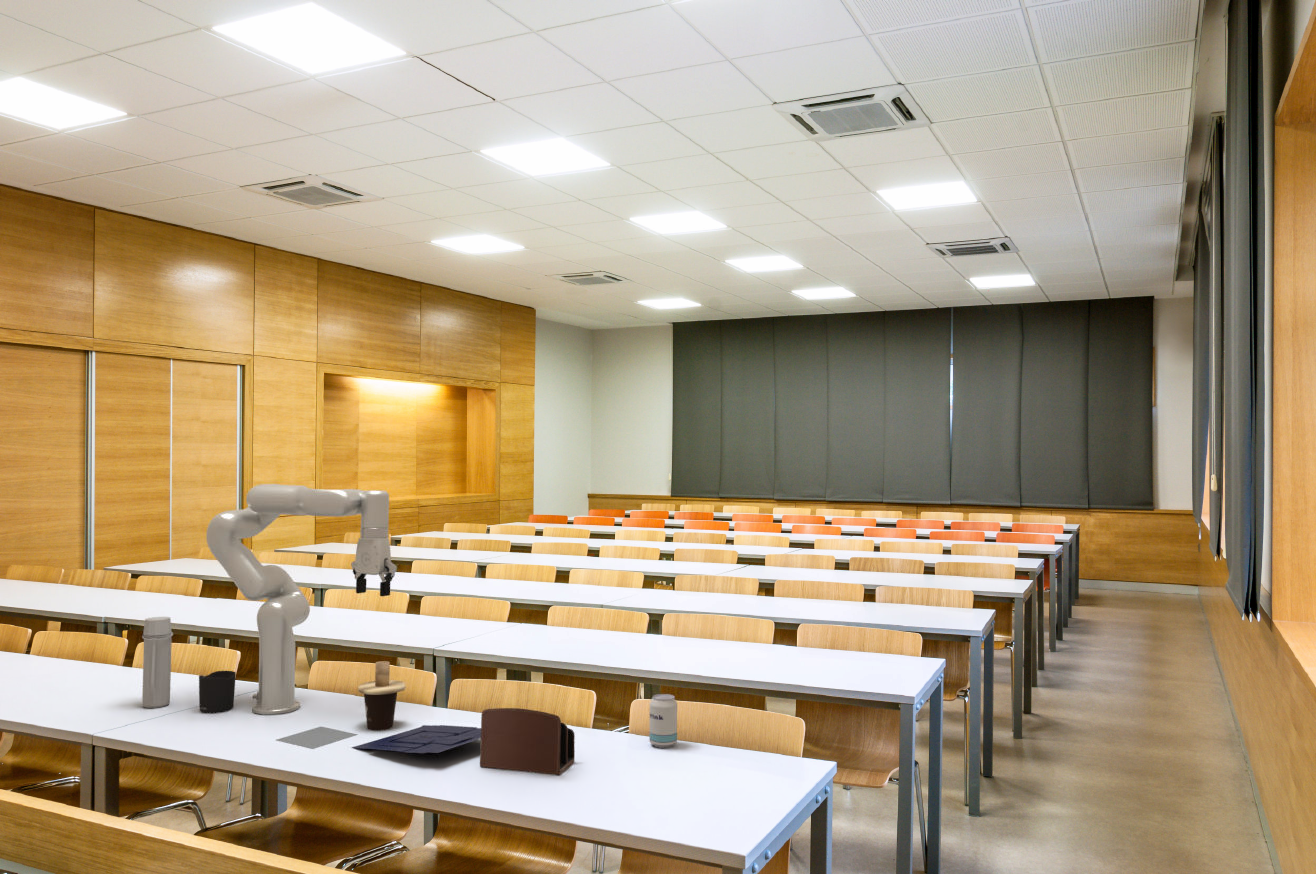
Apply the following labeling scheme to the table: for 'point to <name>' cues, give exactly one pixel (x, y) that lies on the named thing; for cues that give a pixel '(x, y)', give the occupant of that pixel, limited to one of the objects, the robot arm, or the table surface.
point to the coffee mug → (380, 711)
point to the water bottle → (157, 662)
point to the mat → (316, 737)
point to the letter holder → (525, 741)
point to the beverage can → (663, 721)
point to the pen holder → (217, 691)
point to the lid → (382, 682)
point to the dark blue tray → (426, 739)
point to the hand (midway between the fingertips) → (372, 594)
